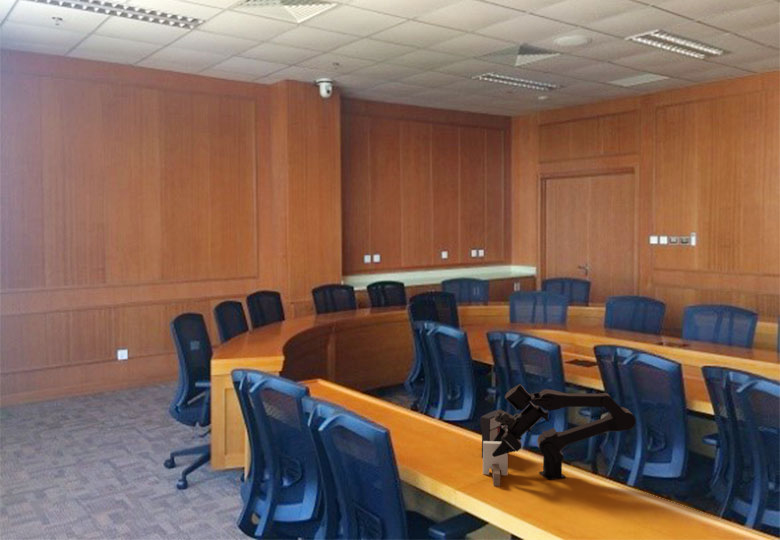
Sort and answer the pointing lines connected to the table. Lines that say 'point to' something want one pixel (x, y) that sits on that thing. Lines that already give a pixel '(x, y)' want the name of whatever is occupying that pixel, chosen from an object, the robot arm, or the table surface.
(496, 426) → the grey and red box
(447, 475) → the table surface
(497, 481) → the slotted beam
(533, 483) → the table surface
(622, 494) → the table surface
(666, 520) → the table surface
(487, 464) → the notched plate
